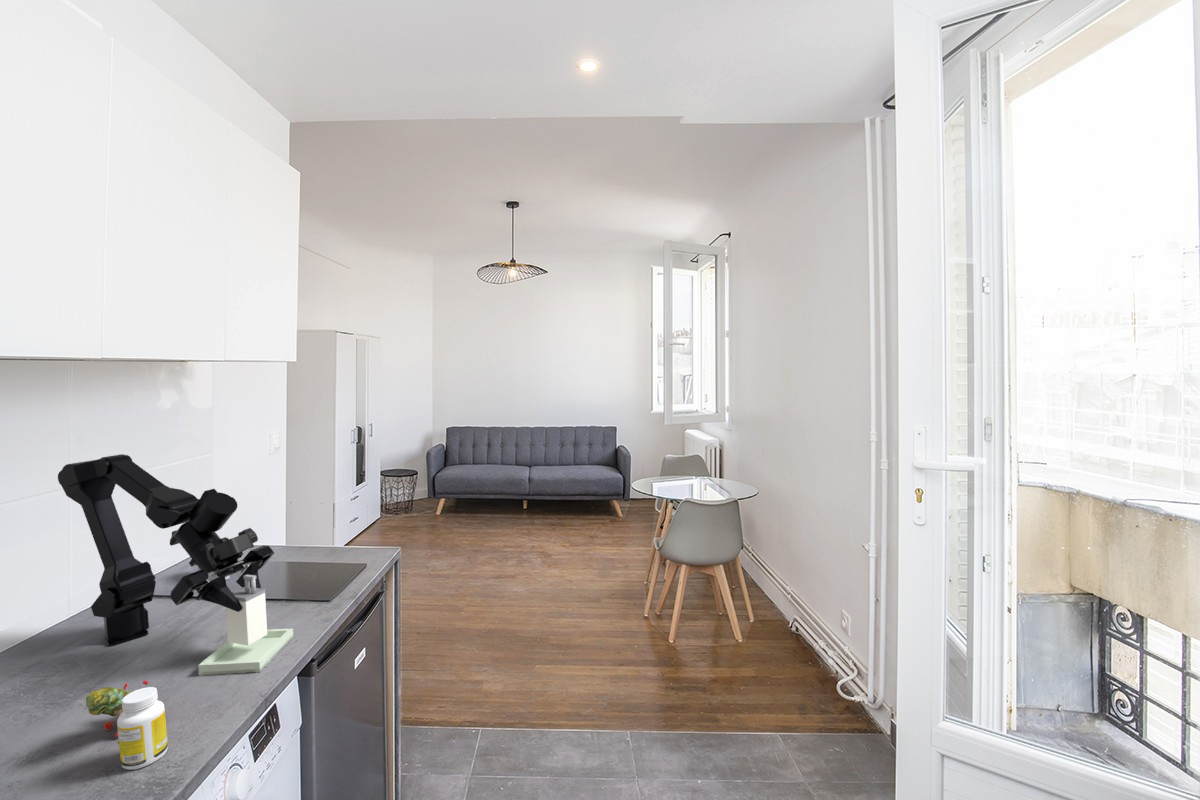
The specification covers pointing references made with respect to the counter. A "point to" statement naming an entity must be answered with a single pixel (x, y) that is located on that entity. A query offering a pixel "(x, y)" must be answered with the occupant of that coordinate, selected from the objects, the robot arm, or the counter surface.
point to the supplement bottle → (141, 729)
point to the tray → (246, 654)
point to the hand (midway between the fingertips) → (251, 604)
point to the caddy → (247, 614)
